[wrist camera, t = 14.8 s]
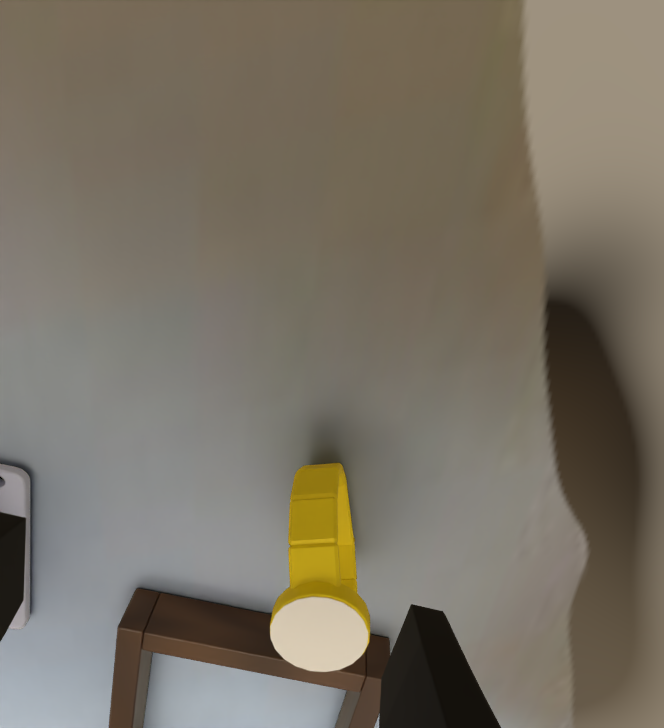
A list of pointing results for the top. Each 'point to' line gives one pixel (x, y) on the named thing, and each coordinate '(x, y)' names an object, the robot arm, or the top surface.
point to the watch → (320, 577)
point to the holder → (226, 654)
